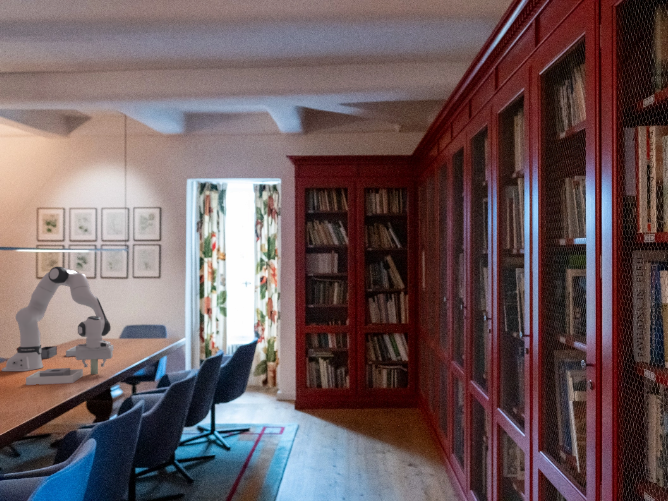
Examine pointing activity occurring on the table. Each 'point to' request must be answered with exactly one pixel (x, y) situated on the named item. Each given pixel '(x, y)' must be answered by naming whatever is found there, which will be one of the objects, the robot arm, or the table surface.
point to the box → (54, 376)
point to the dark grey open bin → (48, 352)
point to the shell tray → (73, 351)
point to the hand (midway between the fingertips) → (94, 366)
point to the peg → (94, 366)
